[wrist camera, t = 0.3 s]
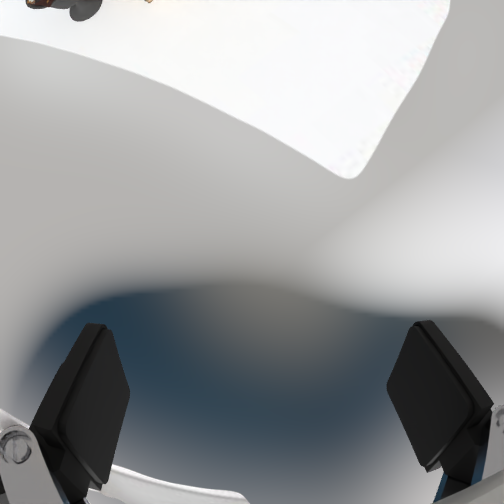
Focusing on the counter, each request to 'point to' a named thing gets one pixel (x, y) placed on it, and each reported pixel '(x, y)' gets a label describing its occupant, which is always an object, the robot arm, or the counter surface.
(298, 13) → the counter surface
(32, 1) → the sundae
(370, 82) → the counter surface
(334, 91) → the counter surface
